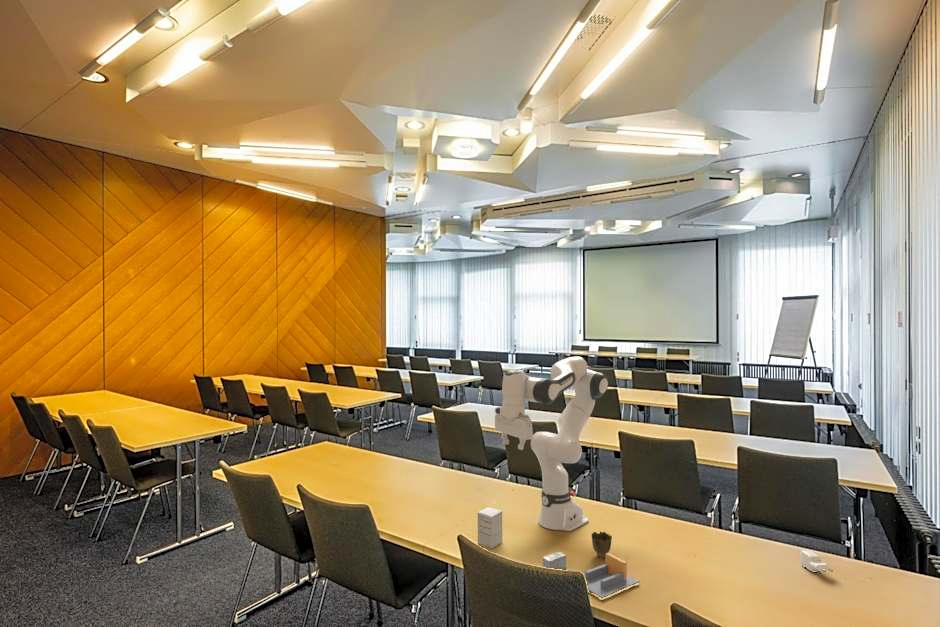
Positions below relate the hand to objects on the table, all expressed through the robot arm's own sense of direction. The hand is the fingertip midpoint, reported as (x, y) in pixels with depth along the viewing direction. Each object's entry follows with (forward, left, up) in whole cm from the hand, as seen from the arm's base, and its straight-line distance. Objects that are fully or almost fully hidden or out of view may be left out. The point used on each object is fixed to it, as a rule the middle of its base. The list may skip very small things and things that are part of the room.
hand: (513, 446), depth 197 cm
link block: (-2, +21, -40) cm, 45 cm away
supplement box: (+5, -9, -40) cm, 41 cm away
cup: (-24, +23, -40) cm, 52 cm away
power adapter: (-79, +73, -40) cm, 115 cm away
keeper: (-10, +37, -40) cm, 55 cm away
